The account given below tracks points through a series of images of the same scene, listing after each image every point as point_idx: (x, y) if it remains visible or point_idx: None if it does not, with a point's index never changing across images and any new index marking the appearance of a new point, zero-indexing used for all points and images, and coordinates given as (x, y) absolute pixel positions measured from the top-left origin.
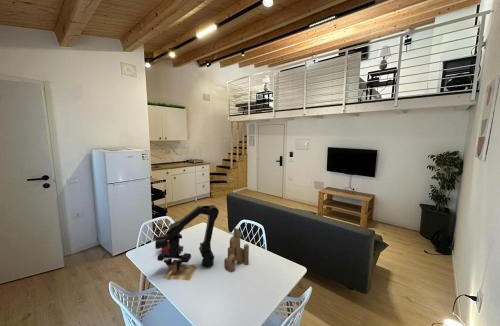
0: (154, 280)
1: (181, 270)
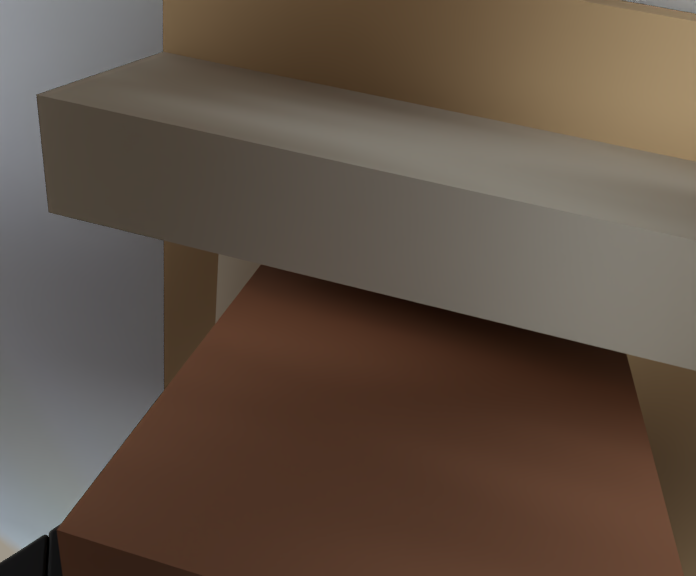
0: (16, 531)
1: (663, 416)
